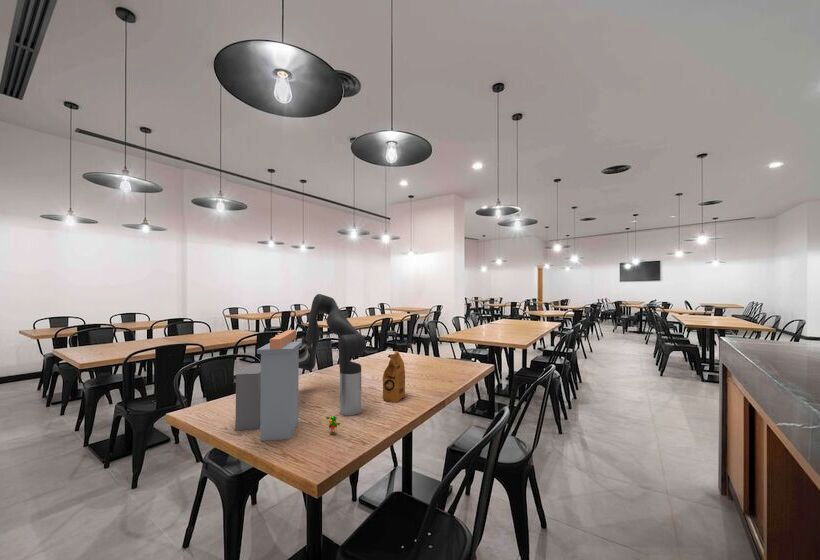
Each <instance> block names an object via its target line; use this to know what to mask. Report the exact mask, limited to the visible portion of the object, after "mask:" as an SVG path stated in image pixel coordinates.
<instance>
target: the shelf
mask: <svg viewBox="0 0 820 560" xmlns="http://www.w3.org/2000/svg"><path fill="white" fill-rule="evenodd" d="M260 407H261V362H260V363H259V362H258V363H257V362H255V363H254V362H253V363H251V364H250V365H248V366H247V367H245V368H243V369H242V370H240V371H239V372H238V373H236V374H235V425H234V426H235V429H234V430H235V431H248V430H250V431H251V430H259V429H260Z"/></svg>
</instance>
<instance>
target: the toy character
mask: <svg viewBox="0 0 820 560" xmlns="http://www.w3.org/2000/svg"><path fill="white" fill-rule="evenodd" d="M325 419H326V420H328V423H329V424H328V425H329V426H328V428H329V429H330V430H331V431H330V434H332V435H333V436H336V435H337V433H336V431H335V430H336V429H337V427H338V426H339V427H340V426H341V425H342V423H341V422H337V419H338V418H337V416H335V415H331V416H325Z"/></svg>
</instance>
